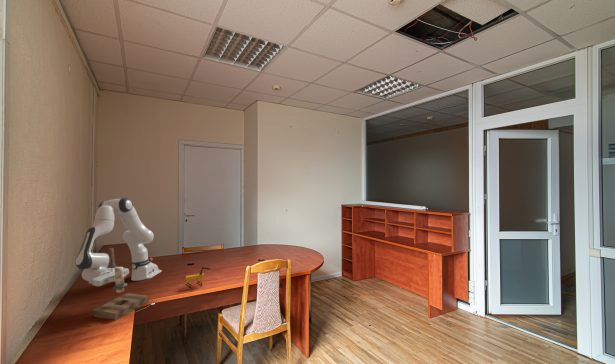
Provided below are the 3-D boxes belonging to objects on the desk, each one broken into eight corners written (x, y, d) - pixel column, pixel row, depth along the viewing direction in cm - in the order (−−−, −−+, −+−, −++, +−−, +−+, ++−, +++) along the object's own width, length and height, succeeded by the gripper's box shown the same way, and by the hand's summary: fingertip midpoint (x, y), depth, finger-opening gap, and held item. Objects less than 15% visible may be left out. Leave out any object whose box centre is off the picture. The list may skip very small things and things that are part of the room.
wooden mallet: (104, 267, 248) (102, 248, 247) (116, 267, 248) (114, 247, 247) (101, 269, 245) (99, 249, 244) (113, 268, 244) (111, 248, 243)
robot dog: (211, 285, 201) (210, 267, 200) (184, 289, 195) (183, 271, 194) (211, 282, 206) (210, 264, 205) (185, 286, 200) (184, 268, 199)
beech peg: (121, 288, 175) (120, 265, 174) (130, 289, 173) (128, 266, 172) (109, 293, 168) (108, 269, 167) (119, 294, 166) (117, 270, 165)
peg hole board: (127, 298, 184) (127, 293, 184) (148, 301, 179) (148, 295, 179) (93, 316, 164) (92, 309, 163) (115, 320, 158) (115, 313, 158)
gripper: (86, 277, 164) (103, 279, 160) (119, 265, 183) (134, 267, 179) (87, 287, 164) (103, 290, 160) (120, 274, 184) (135, 276, 179)
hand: (120, 277), depth 170 cm, fingers closed on beech peg, 4 cm apart
